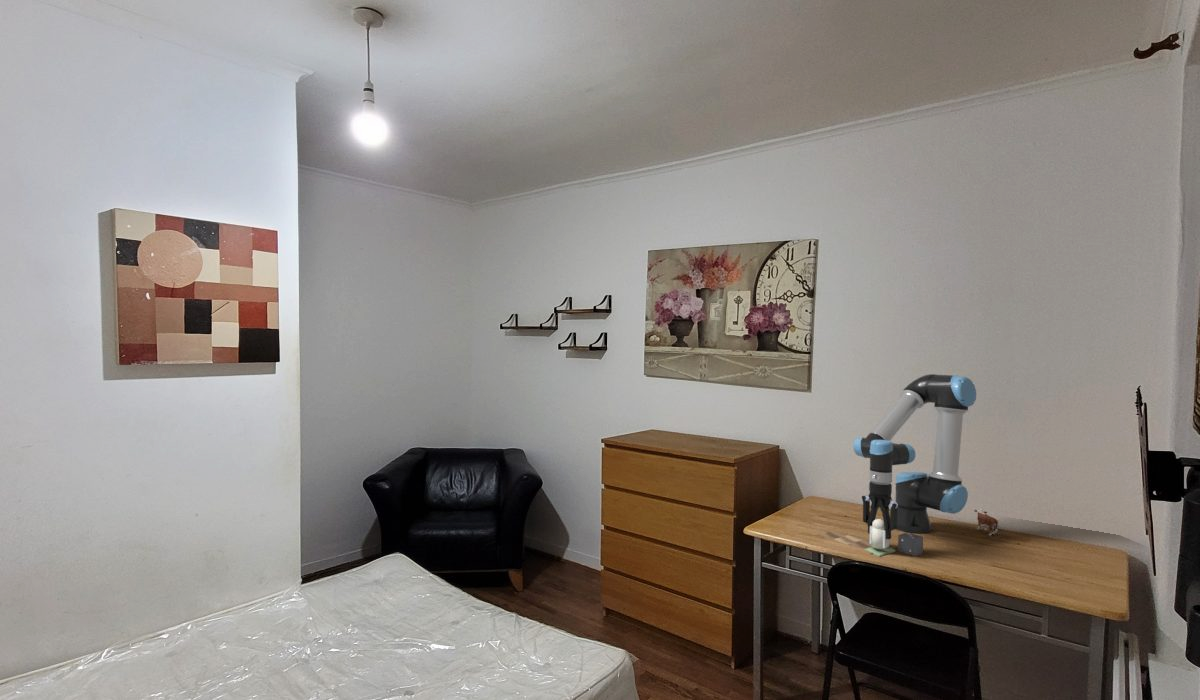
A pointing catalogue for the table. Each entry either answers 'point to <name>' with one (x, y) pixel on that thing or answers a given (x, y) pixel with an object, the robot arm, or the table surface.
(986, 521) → the bull figurine
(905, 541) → the die
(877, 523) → the pawn
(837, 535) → the lane
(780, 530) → the table surface
